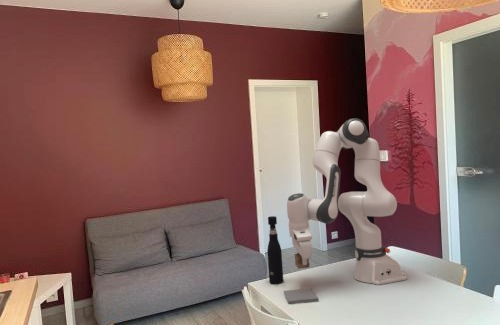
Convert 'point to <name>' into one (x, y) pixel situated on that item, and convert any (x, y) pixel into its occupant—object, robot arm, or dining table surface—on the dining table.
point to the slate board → (300, 296)
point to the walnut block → (300, 261)
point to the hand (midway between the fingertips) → (302, 262)
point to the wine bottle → (274, 254)
